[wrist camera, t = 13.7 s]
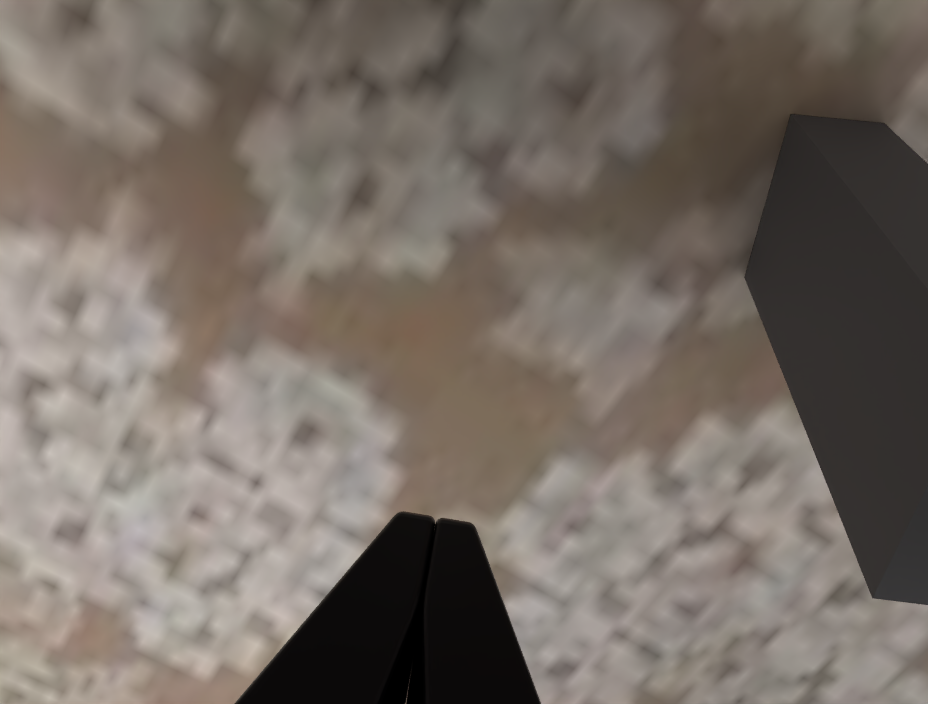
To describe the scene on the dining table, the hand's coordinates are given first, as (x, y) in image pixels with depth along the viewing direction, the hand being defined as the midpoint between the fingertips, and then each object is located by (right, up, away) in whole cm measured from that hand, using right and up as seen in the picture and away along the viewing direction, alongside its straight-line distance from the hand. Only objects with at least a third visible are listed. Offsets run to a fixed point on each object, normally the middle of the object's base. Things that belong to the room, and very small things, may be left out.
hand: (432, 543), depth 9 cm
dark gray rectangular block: (+8, +6, +10) cm, 14 cm away
